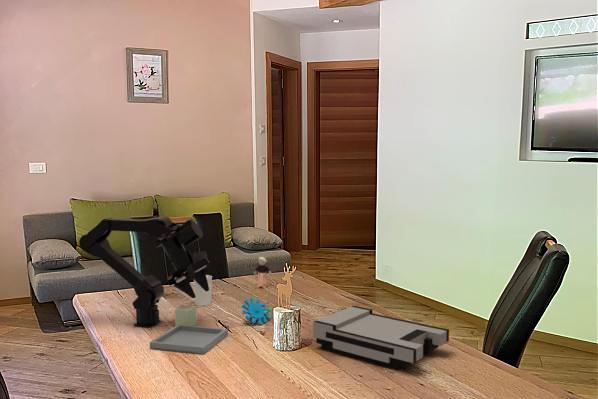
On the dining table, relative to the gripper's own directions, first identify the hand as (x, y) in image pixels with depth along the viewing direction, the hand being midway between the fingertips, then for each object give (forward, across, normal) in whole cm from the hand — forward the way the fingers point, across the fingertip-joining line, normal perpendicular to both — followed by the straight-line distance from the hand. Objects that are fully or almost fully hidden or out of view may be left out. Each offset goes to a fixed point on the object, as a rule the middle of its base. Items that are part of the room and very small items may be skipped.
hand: (201, 294), depth 186 cm
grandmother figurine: (+13, +30, -44) cm, 54 cm away
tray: (+10, -4, +14) cm, 17 cm away
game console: (+39, -42, -16) cm, 60 cm away
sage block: (+6, +9, +5) cm, 12 cm away
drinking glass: (+5, +26, -14) cm, 30 cm away
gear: (+18, -2, -12) cm, 21 cm away
